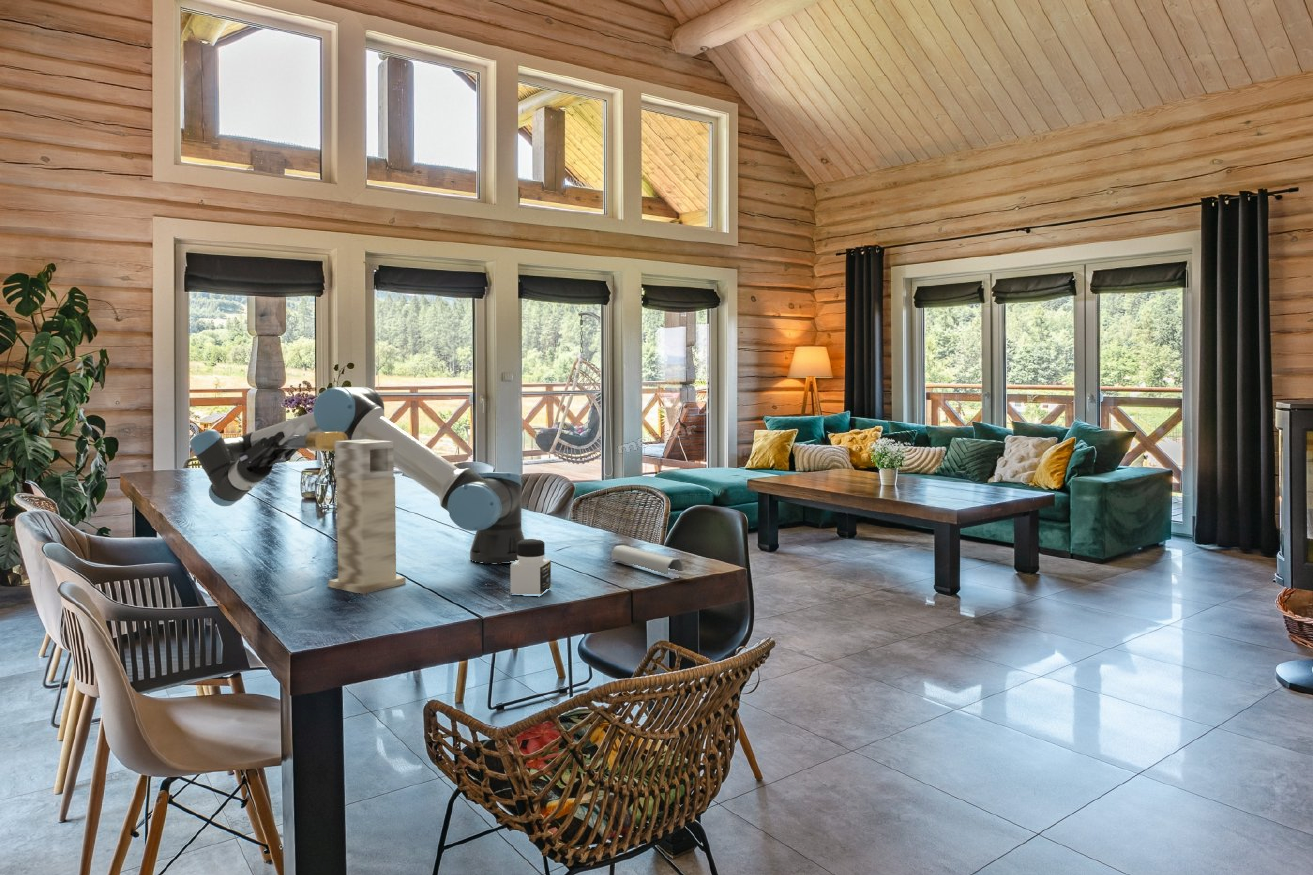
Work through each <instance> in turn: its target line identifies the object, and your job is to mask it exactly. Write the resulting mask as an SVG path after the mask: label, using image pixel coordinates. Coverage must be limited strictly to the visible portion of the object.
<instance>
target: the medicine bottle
mask: <svg viewBox="0 0 1313 875" xmlns="http://www.w3.org/2000/svg"><path fill="white" fill-rule="evenodd" d="M545 554H546V553H545V542H544V541H543V540H542V539H539V538H524V539H523V540H521V541H519V542H518V543H517V558H518V559H519V560H517V561H516V562H514V563H511V564H509V565H510V568H509V569H510V594H511V593H516V594H542V593H543V592H544V591H545V590H546V589H549V588H550V587H552V585H551V583H552V580H551V578H552V577H551V576H552V575H551V574H552V570H551V569H552V562H551V561H552V559H549V558H545Z"/></svg>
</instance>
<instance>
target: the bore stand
mask: <svg viewBox="0 0 1313 875" xmlns="http://www.w3.org/2000/svg"><path fill="white" fill-rule="evenodd" d="M394 467H395V466H394V465H393V441H382V440H369V439H359V440H345V441H335V451H334V478H336V524H337V526H336V528H337V530H336V532H337V533H336V534H337V536H336V537H337V578H333V579H328V583H327V584H328V588H331V589H337V590H340V591H341V590H342V591H345V592H346V591H347V592H350V593H356V594H359V593H360V595H366V593H367V594H371V593H375V592H378V590H379V591H381V590H382V589H383V590H387V589H390V588H394V587H397V586H402V585H406V584H407V583H406V582H407V579H406V578H407V577H405V576H401V575H397V555H396V554H397V547H396V546H397V544H396V543H397V539H396V536H397V535H396V531H397V530H396V528H397V526H396V477H395V476H394V473H395V472H394V470H395V469H394ZM374 591H375V592H374ZM370 592H371V593H370Z"/></svg>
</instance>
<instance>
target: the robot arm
mask: <svg viewBox="0 0 1313 875" xmlns="http://www.w3.org/2000/svg"><path fill="white" fill-rule="evenodd" d="M312 432H344V433H345V434H346V435H347V437H348V440H359V439H369V440H382V441H393V465H394V467H395V468H396V469H398V470H399V471H400V472H402V473H404V474H405V475H406V476H408V477H409V478H410V479H412V480H413V481H415V482H416V483H418V484H419V485H421V486H422V487H423V488H424V489H426V490H428V491H429V492H430V493H432V494H434V495H435V496H436V497H438V499H439V504H440V507H441V508H442V509H443V510H446V511H447V512H448V513H449V514H448V515H449V517H450V519H451V521H452V522H453V523H454V524H455V526H458V527H459V528H461V529H462V530H465V531H471V532H475V534H474V538H473V541H472V544H471V546H470V547H471V548H470V551H469V560H470V559H471V560H473V561H476V562H483V563H502V562H510V561H515V560H519V559H518V558H517V543H518V542H519V541H521V540H523V539H525V537H524V533H523V531H522V492H523V491H522V489H523V483H522V477H521V475H520V474H519V473H517V472H497V471H494V472H493V471H479V472H475V471H473V470H472V469H471V468H469V467H467V468H458V467H457V466H455V465H454V464H453V463H451V462H450V461H449V460H447V459H446V458H445V457H442V456H441V455H440V454H439V453H437V452H436V451H434V450H433V449H431V448H430V447H428V446H427V445H426V444H424V443H423V442H421V441H420V440H418V439H417V438H415V437H414V436H413V435H411V434H410V433H408V432H406V431H405V430H404V429H402V428H401V427H400V426H398V425H396V424H395V423H394V422H393V421H391V420H390V419H387V417H386V416H385V404H384V401H383V398H382V397H381V395H380V394H379V393H377V392H376V390H374V389H372V388H370V387H366V386H334V387H329V388H327V389H325V390H323V391H322V392H320V393H319V394H318V396H317V397H316V399H315V402H314V405H313V411H312V412H308V413H306V414H303V415H300V416H297V417H294V418H291V419H287V420H284V421H281V422H278V423H275V424H273V425H270V426H266V427H264V428H260V429H258V430H255V431H252V432H249V433H246V434H242V435H237V436H231V437H230V436H229V437H222V435H221V434H220V433H219V431H218V430H216V429H214V428H213V429H212V428H211V429H207V430H204V431H202V432H200V433H198V434H196V435H195V436H193V437H192V438H191V440H190V441H189V444H190V447H191V449H192V451H193V453H194V456H195V458H197V460H198V462H199V464H200V466H201V467H202V469H203V471H204V473H206V475H207V477H208V479H209V481H210V483H211V484H210V486H209V488H208V495H209V498H210V499H211V501H212V502H213V503H214V504H216V505H217V506H220V507H230V506H232V505H234V504H235V503H237V502H238V501H240V500H242V499H243V498H244V497H245V496H246V495H247V494H248V493H249V492H250V491H252V490H253V489H254V488H255V487H256V486H257V485H258V484H260V483H261V482H262V481H264V479H266V478H267V477H268V476H269V475H270V474H271V472H272V469H273V466H275V464H278V463H279V461H281V460H283V461H285V462H289V461H291V458H292V457H293V456H294V455H295V454H296V452H298V451H299V450H300V449H278V448H279V447H278V444H277V443H279V445H282V444H283V443H284V442H286V441H287V440H288V439H289V438H290V437H291V436H294V435H308V434H309V433H312ZM269 437H270V438H269ZM268 438H269V439H268ZM471 560H470V561H471ZM473 561H472V562H473ZM476 562H475V563H476Z"/></svg>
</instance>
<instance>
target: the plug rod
mask: <svg viewBox="0 0 1313 875" xmlns="http://www.w3.org/2000/svg"><path fill="white" fill-rule="evenodd" d="M269 438H270V437H269ZM269 438H268V439H269ZM345 440H348V437H347V435H346V434H345V433H344V432H312V433H309V434H308V435H294V436H291V437H290V438H289V439H288V440H287V441H286V442H284V443H283V444H282V445H279V443H277V444H278V447H279V448H278V449H299V450H300V449H308V450H309V451H312V452H316V451H317V452H318V451H319V452H320V451H321V452H323V451H324V452H325V451H326V452H327V451H332V452H333V451H334V452H335V441H345Z"/></svg>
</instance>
